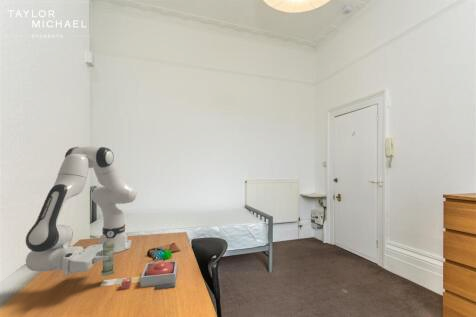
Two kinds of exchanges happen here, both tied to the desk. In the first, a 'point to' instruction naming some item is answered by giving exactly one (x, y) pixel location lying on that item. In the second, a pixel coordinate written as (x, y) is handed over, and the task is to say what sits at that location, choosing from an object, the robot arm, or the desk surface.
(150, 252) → the sunglasses case
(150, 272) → the dome
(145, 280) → the game board
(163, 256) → the stick construction toy
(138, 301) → the desk surface
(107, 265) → the pawn
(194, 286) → the desk surface
